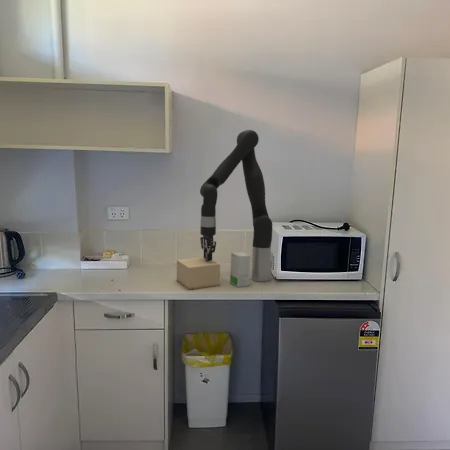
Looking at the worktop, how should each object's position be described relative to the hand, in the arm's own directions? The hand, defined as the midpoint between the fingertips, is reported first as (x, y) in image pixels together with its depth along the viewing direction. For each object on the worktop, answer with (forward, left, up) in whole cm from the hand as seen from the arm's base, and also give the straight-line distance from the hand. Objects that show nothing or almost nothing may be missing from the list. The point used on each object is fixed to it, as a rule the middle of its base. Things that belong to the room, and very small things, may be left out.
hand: (207, 259), depth 202 cm
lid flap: (+5, 0, -1) cm, 6 cm away
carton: (+5, 0, -12) cm, 13 cm away
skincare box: (-13, +10, -12) cm, 20 cm away
